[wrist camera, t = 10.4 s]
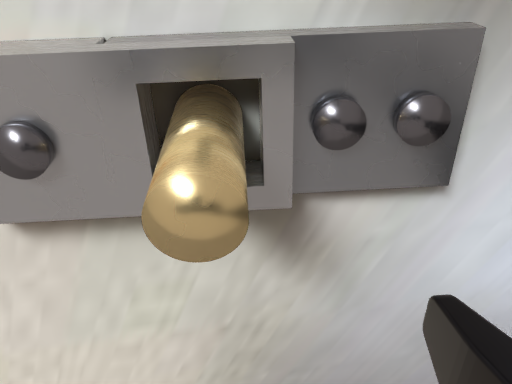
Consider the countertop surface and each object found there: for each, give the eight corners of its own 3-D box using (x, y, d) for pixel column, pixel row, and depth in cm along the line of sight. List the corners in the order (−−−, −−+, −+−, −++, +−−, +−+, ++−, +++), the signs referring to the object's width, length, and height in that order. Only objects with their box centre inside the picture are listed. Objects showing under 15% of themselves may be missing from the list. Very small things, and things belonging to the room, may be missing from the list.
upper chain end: (285, 181, 21) (293, 215, 18) (-17, 196, 20) (-52, 234, 18) (286, 29, 17) (297, 46, 14) (-82, 45, 17) (-139, 65, 14)
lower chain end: (437, 173, 21) (454, 192, 19) (141, 188, 20) (134, 209, 19) (470, 22, 17) (494, 30, 16) (111, 37, 17) (99, 47, 15)
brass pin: (243, 146, 20) (250, 259, 13) (178, 149, 19) (150, 265, 13) (240, 82, 18) (246, 172, 11) (169, 85, 18) (132, 177, 11)
